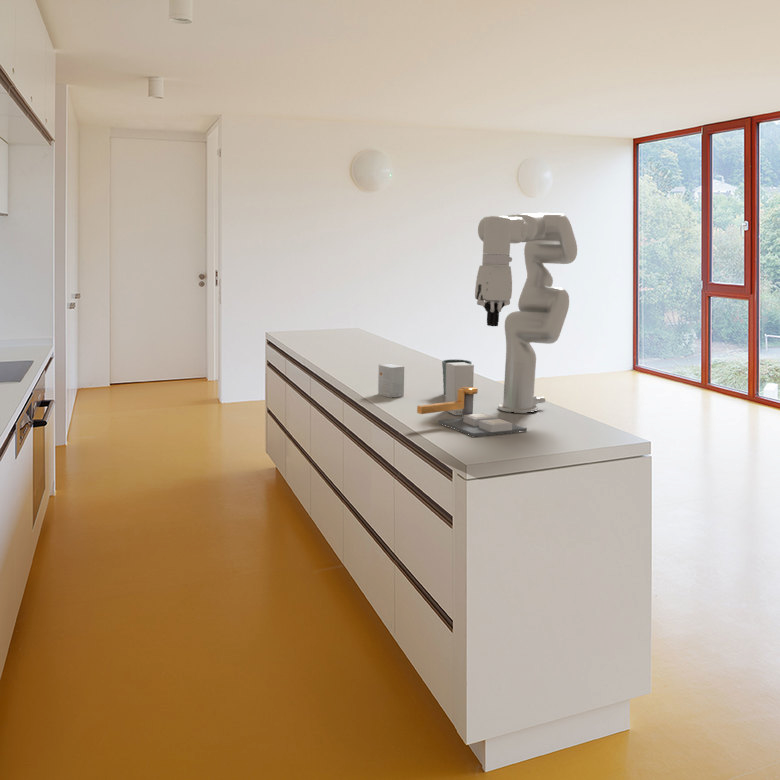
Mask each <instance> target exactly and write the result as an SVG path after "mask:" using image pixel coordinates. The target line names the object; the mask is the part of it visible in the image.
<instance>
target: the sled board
mask: <svg viewBox="0 0 780 780" xmlns="http://www.w3.org/2000/svg"><path fill="white" fill-rule="evenodd" d="M474 395H475V394H464V409H463V412H462V415H461V417H460V418H458V417H457V418H449V419H448V418H447V419H438V424H439V423H441V424H443V425H442V426H444V425H446V426H449V427H452V428H455V429H457V430H459V431H462V432H464V433H466V434H465V435H467V434H469V435H468V436H470V435H471V436H470V437H472V436H474V437H473V438H477V437H476V436H480V437H485V436H487V435H489V436H495V435H496V434H499V435H505V434H504V433H509V434H512V433H511V432H518V433H520V432H519V431H526V432H527V427H524V426H522V425H518V424H515V423H513V422H509V421H508V420H504V419H501V418H497V417H496V416H493V415H489V414H487V413H483V412H482V413H474V397H475V396H474ZM441 424H440V425H441ZM446 426H445V427H446ZM449 427H448V428H449ZM452 428H451V429H452ZM457 430H456V431H457ZM459 431H458V432H459ZM462 432H461V433H462ZM464 433H463V434H464ZM496 436H497V435H496ZM487 437H488V436H487Z"/></svg>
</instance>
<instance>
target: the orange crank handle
mask: <svg viewBox="0 0 780 780" xmlns="http://www.w3.org/2000/svg"><path fill="white" fill-rule="evenodd" d="M464 394H474V395H477V394H478V387H474V386H473V387H461V388H460V389H458V396H457V401H453V402H446V401H445V402H438V403H437V402H436V403H432V404H429V403H428V404H422V405H417V408H416V414H420V415H426V414H433V413H441V412H447V411H450V410H457V409H464Z"/></svg>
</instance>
